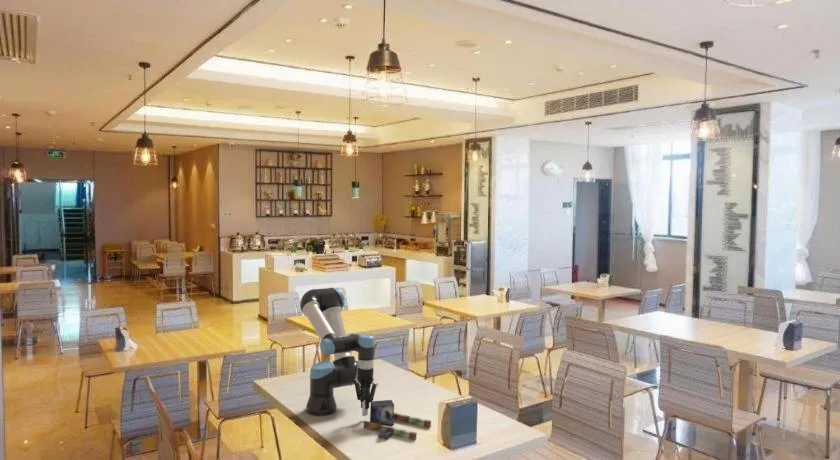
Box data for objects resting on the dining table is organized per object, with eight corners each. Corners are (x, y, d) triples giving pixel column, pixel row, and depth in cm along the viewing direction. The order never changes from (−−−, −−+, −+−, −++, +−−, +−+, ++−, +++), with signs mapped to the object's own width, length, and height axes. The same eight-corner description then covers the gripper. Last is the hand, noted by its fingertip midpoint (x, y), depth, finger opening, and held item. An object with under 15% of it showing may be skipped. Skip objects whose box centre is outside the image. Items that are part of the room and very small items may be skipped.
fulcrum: (377, 437, 262) (377, 428, 261) (382, 434, 265) (382, 425, 265) (387, 439, 260) (387, 431, 259) (391, 436, 263) (391, 427, 263)
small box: (372, 427, 272) (372, 405, 272) (369, 422, 279) (370, 401, 278) (394, 425, 275) (394, 404, 274) (391, 420, 281) (391, 399, 281)
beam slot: (363, 428, 271) (363, 421, 271) (381, 415, 287) (381, 409, 286) (414, 440, 260) (415, 433, 259) (430, 426, 275) (431, 420, 275)
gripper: (350, 367, 279) (349, 415, 280) (373, 371, 273) (372, 420, 275) (358, 363, 285) (357, 409, 287) (381, 367, 280) (380, 415, 281)
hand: (364, 415), depth 281 cm, fingers closed
